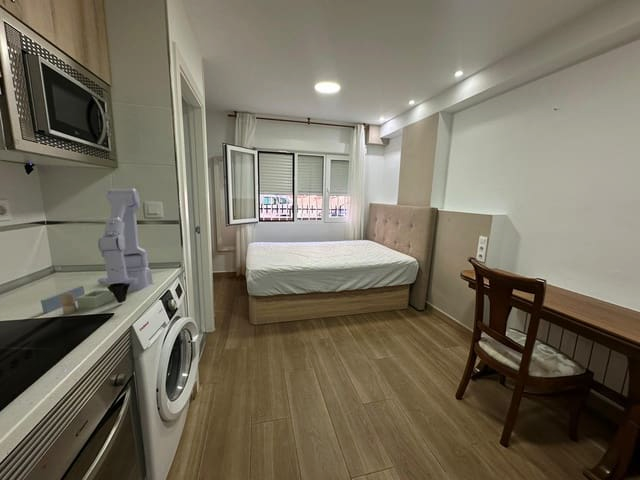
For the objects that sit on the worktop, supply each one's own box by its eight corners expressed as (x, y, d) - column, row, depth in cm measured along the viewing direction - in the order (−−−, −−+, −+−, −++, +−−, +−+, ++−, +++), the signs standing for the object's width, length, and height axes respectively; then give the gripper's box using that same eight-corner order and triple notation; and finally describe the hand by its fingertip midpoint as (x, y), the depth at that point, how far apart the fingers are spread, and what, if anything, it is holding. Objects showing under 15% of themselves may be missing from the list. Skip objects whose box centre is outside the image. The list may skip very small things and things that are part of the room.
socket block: (96, 299, 102) (94, 290, 102) (113, 299, 102) (111, 290, 101) (78, 307, 95) (76, 297, 95) (96, 307, 95) (94, 297, 94)
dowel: (71, 310, 93) (67, 292, 92) (79, 310, 93) (75, 292, 92) (61, 315, 90) (56, 296, 89) (70, 315, 90) (66, 296, 88)
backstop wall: (81, 297, 105) (79, 285, 104) (85, 297, 105) (83, 285, 104) (43, 313, 92) (40, 300, 91) (47, 313, 92) (44, 300, 91)
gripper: (87, 270, 92) (94, 306, 94) (125, 270, 91) (131, 306, 93) (104, 265, 99) (111, 298, 101) (140, 265, 98) (145, 298, 100)
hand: (122, 301), depth 98 cm, fingers closed
